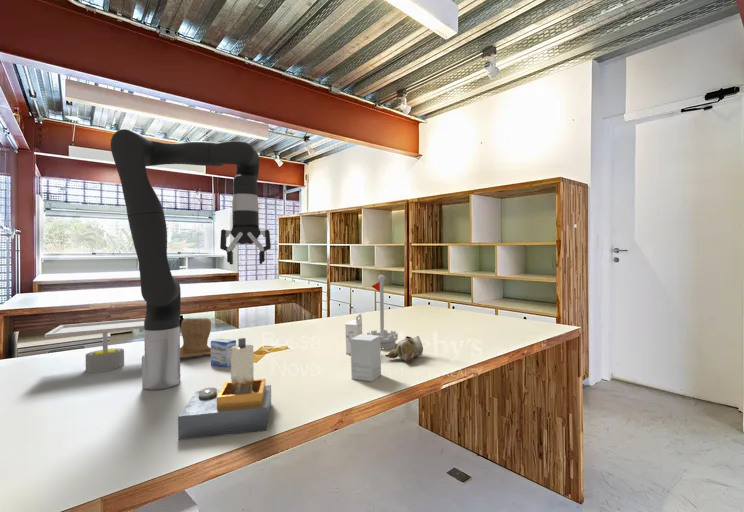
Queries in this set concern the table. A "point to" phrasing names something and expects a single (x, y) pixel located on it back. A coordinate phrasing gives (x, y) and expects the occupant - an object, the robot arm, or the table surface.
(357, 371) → the supplement box
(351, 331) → the ink cartridge box
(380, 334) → the flag stand
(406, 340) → the ceramic sculpture
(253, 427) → the grey base with tray
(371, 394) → the table surface
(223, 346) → the medicine box
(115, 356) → the solar panel model
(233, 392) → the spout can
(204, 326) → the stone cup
